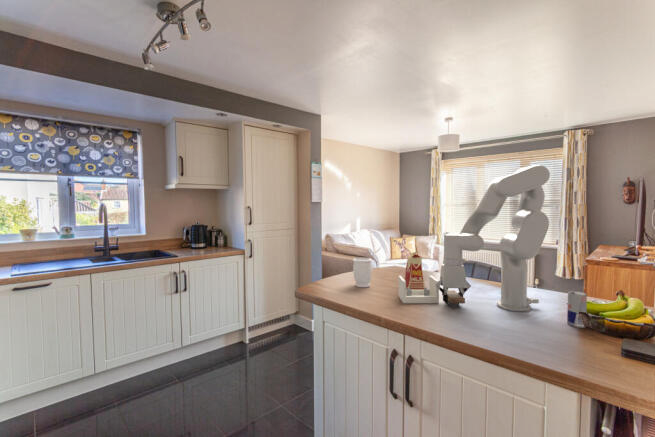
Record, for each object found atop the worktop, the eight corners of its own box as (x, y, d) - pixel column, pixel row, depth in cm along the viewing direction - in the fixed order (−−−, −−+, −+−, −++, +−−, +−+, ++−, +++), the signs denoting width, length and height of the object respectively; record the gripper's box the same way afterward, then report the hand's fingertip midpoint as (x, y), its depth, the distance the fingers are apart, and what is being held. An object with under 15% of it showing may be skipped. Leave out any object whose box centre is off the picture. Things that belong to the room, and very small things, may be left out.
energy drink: (567, 321, 116) (568, 289, 116) (585, 324, 113) (586, 292, 112) (566, 325, 112) (567, 293, 112) (586, 329, 109) (587, 295, 108)
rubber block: (452, 302, 140) (452, 296, 140) (459, 308, 132) (459, 301, 132) (447, 302, 140) (447, 296, 140) (453, 308, 132) (453, 301, 132)
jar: (350, 284, 175) (350, 257, 174) (367, 282, 178) (366, 256, 177) (357, 289, 165) (357, 261, 164) (375, 287, 168) (375, 259, 167)
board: (441, 294, 142) (441, 290, 142) (454, 294, 142) (454, 290, 142) (451, 303, 130) (451, 298, 130) (464, 303, 130) (465, 298, 130)
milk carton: (425, 290, 160) (425, 252, 159) (407, 290, 160) (407, 252, 159) (420, 286, 169) (420, 249, 168) (403, 286, 169) (403, 249, 168)
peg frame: (431, 295, 151) (431, 275, 150) (438, 303, 140) (438, 281, 139) (398, 295, 151) (398, 275, 151) (403, 303, 140) (403, 281, 140)
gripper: (469, 260, 138) (469, 299, 139) (430, 260, 139) (430, 300, 140) (476, 263, 131) (476, 305, 132) (435, 263, 132) (435, 305, 132)
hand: (452, 302), depth 136 cm, fingers closed on board, 5 cm apart
